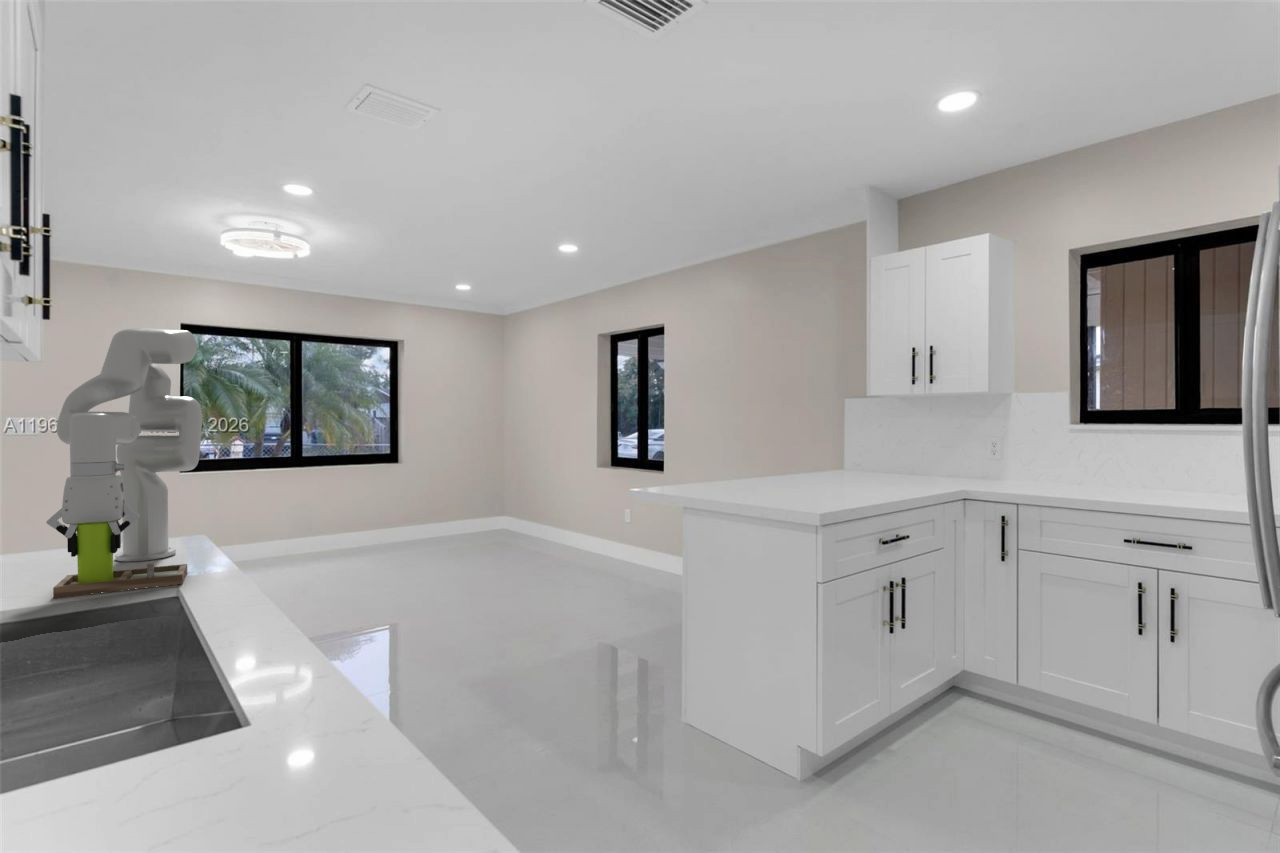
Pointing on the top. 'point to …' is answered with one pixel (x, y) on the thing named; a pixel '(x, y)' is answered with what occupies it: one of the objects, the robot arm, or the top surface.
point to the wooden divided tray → (124, 580)
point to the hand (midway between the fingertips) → (94, 553)
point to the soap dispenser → (94, 553)
